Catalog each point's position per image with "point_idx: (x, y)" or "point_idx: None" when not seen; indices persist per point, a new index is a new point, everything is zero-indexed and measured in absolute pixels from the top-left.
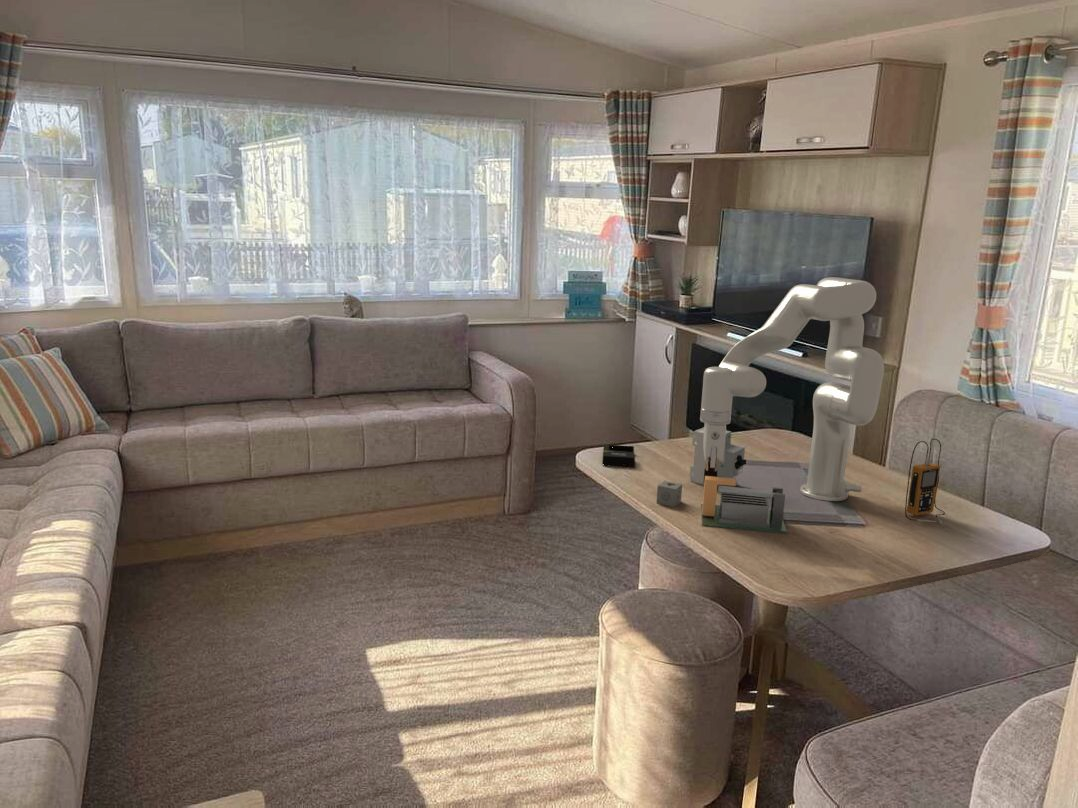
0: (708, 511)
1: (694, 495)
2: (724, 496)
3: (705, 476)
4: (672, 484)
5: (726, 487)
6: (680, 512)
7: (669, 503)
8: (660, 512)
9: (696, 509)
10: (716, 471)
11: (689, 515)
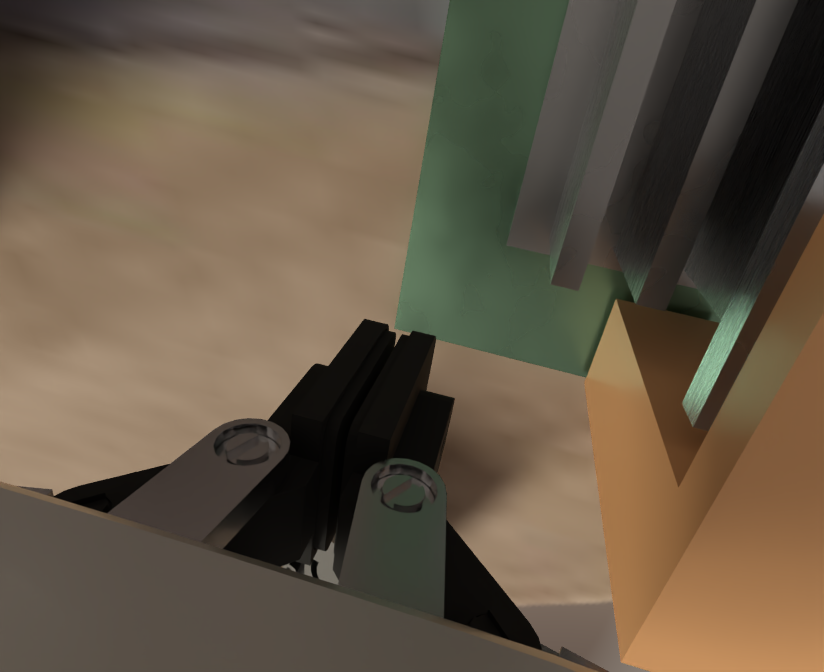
0: None
1: (192, 308)
2: (674, 276)
3: (651, 667)
4: (295, 567)
5: None
6: (531, 482)
7: None
8: (532, 579)
9: (469, 371)
10: (440, 480)
11: (590, 447)
